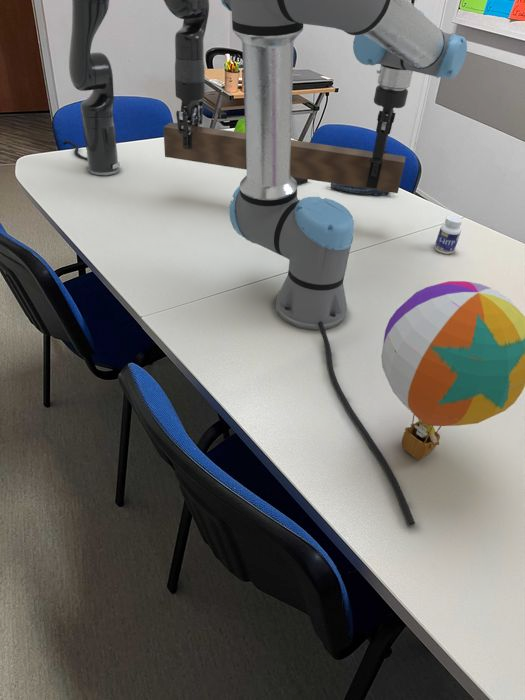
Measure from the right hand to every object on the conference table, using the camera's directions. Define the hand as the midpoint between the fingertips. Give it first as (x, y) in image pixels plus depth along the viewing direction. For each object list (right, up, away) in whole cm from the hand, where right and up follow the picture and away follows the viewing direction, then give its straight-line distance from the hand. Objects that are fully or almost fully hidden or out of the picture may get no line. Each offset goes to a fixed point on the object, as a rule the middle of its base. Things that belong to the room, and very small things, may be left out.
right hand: (372, 183), depth 137 cm
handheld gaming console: (-21, +13, +36) cm, 43 cm away
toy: (-4, -60, -53) cm, 80 cm away
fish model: (+3, +8, +32) cm, 33 cm away
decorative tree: (-36, +31, +56) cm, 74 cm away
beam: (-25, +5, +5) cm, 25 cm away
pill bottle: (+20, -17, +4) cm, 27 cm away
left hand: (-49, +13, +7) cm, 51 cm away
